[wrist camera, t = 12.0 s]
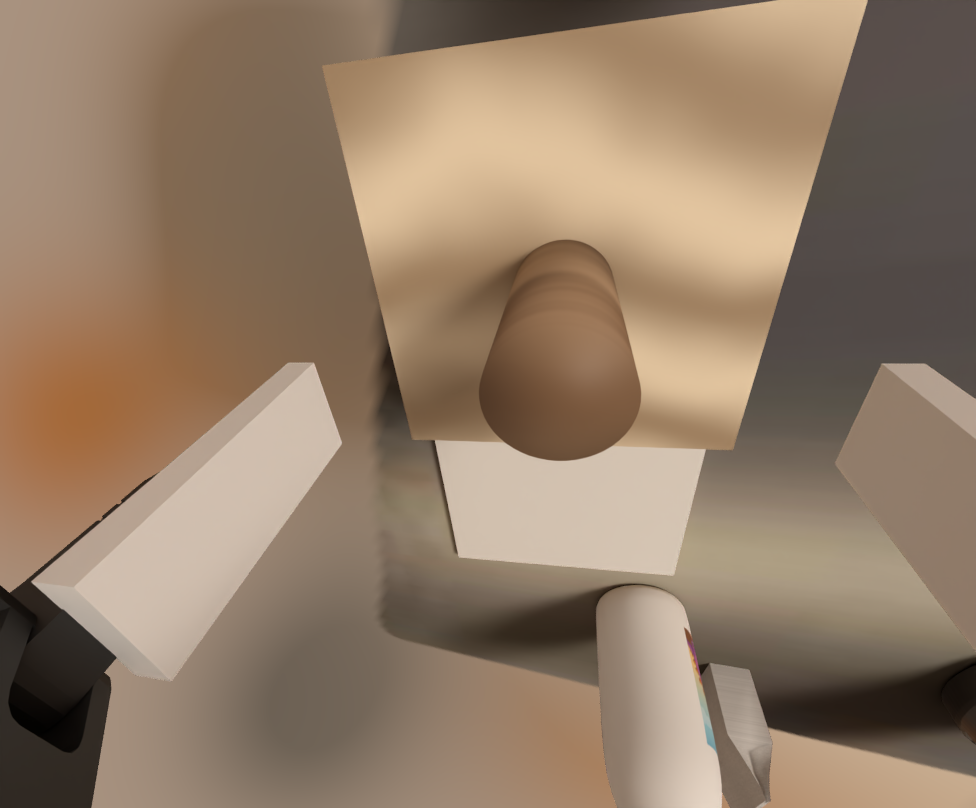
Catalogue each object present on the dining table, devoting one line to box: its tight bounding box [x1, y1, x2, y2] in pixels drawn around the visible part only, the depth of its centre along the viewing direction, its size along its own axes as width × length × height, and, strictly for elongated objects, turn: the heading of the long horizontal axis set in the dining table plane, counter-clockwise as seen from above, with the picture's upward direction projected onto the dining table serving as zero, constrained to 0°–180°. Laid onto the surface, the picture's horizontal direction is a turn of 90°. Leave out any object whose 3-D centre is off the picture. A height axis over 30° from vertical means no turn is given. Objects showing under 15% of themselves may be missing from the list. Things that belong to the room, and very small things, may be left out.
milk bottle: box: [596, 585, 722, 808], centre depth 30 cm, size 8×8×20 cm
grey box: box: [701, 663, 772, 808], centre depth 40 cm, size 4×7×10 cm, turn 179°
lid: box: [322, 0, 868, 461], centre depth 14 cm, size 16×16×9 cm
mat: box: [435, 440, 706, 576], centre depth 31 cm, size 18×18×1 cm
